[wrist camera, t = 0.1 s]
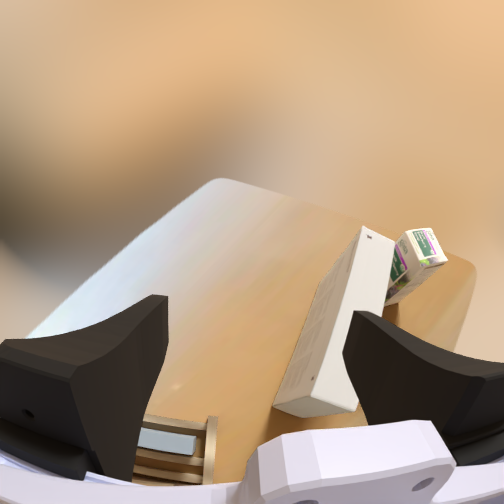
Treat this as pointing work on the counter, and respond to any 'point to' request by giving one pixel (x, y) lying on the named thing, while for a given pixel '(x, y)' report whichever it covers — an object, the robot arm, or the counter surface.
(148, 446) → the slate blue box
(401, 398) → the robot arm
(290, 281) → the counter surface
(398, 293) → the syrup box
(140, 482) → the oak offcut
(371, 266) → the skincare box
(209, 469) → the rack
